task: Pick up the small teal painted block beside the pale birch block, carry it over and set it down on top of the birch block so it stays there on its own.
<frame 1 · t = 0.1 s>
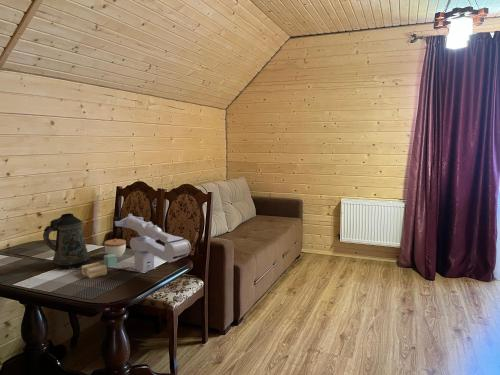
hand: (121, 217, 200), 22 cm above the table, tool horizontal, fingers open, 7 cm apart
teal block: (110, 265, 193), on the table
beer stein: (69, 265, 192), on the table
birch base block: (94, 274, 181), on the table
lidded jar: (115, 256, 207), on the table
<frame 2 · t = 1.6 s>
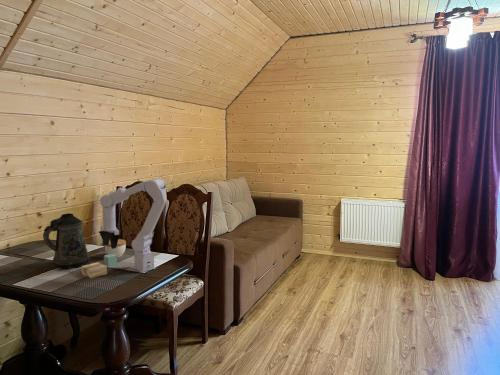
hand: (110, 246, 192), 9 cm above the table, tool pointing down, fingers open, 7 cm apart
nothing on the table moved.
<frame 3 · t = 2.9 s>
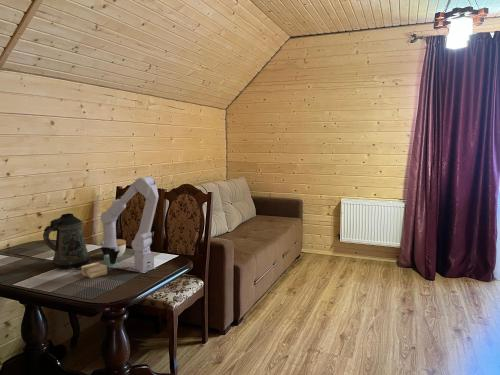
hand: (110, 262, 193), 1 cm above the table, tool pointing down, fingers closed on teal block, 4 cm apart
teal block: (110, 265, 193), on the table, touching gripper
everything else where it was.
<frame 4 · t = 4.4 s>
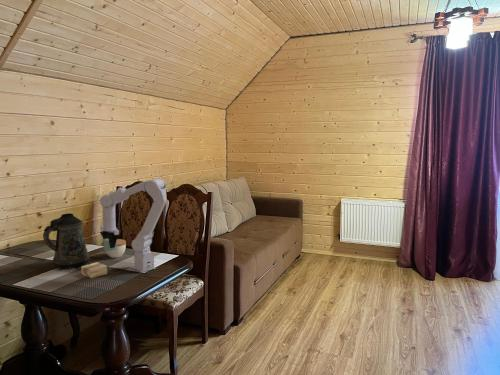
hand: (110, 246, 192), 9 cm above the table, tool pointing down, fingers closed on teal block, 4 cm apart
teal block: (110, 249, 192), point 8 cm above the table, touching gripper
everything else where it was.
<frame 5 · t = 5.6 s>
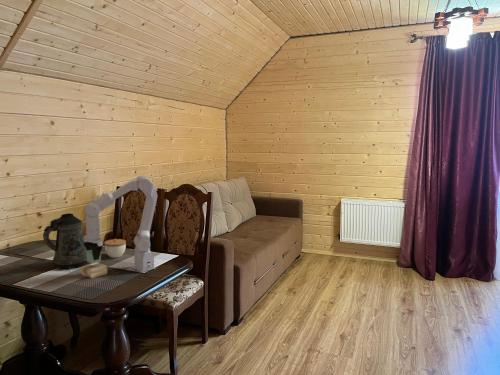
hand: (93, 258, 180), 7 cm above the table, tool pointing down, fingers closed on teal block, 4 cm apart
teal block: (94, 261, 180), point 6 cm above the table, touching gripper
everything else where it was.
when the fingers open (7 cm above the table, at t = 6.1 s): teal block drops 2 cm, resting on birch base block.
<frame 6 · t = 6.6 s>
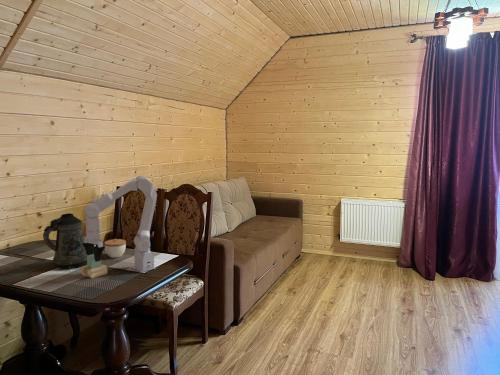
hand: (93, 259, 180), 7 cm above the table, tool pointing down, fingers open, 7 cm apart
teal block: (94, 266, 180), point 4 cm above the table, touching birch base block
birch base block: (94, 274, 181), on the table, touching teal block
everything else where it was.
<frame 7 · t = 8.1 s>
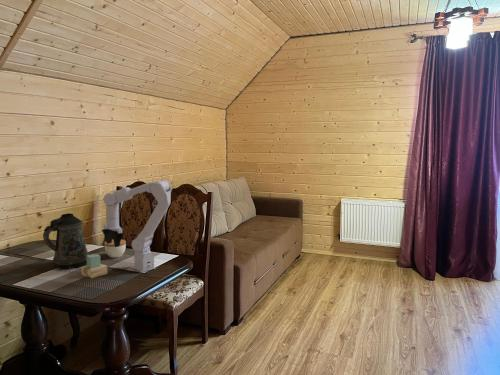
hand: (113, 244, 191), 10 cm above the table, tool pointing down, fingers open, 7 cm apart
nothing on the table moved.
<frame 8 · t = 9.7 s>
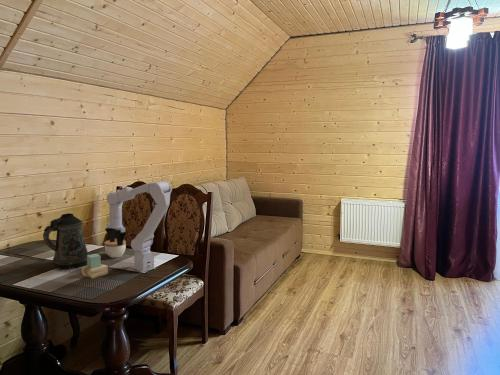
hand: (116, 243, 193), 10 cm above the table, tool pointing down, fingers open, 7 cm apart
nothing on the table moved.
at the end: teal block 0.4 cm off-centre on the birch base block, point 4.0 cm above the birch base block's base; teal block tilted 0°; the gripper is holding nothing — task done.
